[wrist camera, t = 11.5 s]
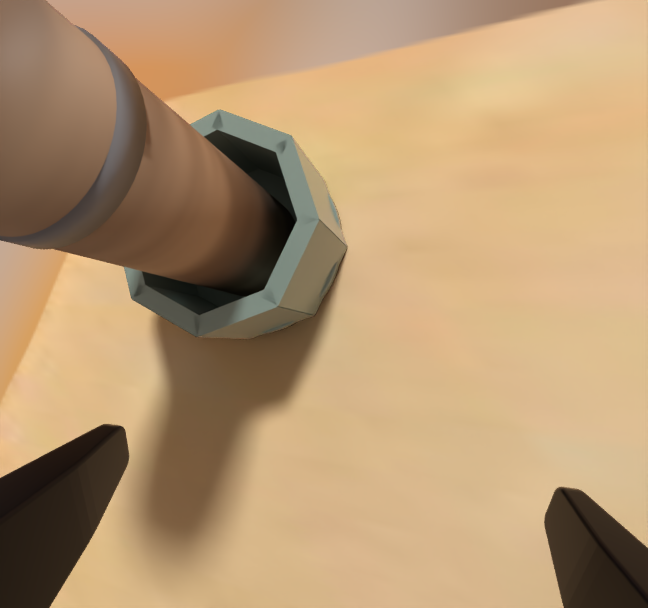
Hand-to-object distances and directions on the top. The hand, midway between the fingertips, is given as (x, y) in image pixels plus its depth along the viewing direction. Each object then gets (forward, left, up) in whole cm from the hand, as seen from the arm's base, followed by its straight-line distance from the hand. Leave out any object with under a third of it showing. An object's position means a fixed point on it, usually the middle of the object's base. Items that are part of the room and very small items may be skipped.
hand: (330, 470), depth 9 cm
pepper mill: (+9, +4, -9) cm, 14 cm away
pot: (+9, +4, -10) cm, 14 cm away
